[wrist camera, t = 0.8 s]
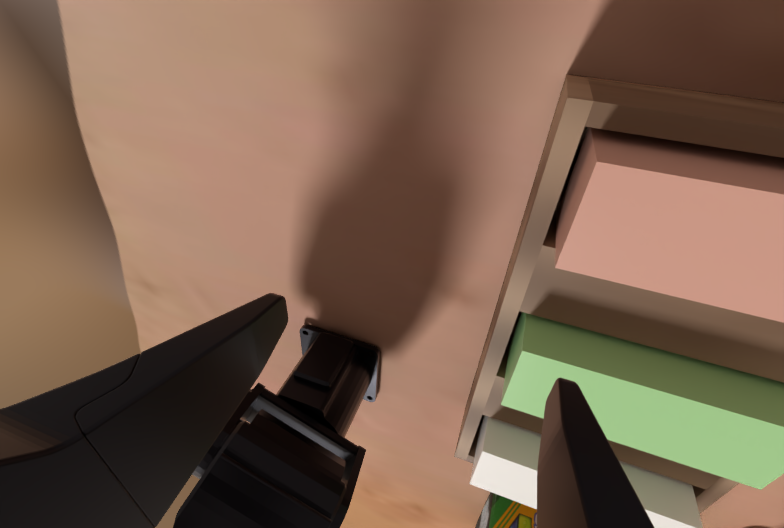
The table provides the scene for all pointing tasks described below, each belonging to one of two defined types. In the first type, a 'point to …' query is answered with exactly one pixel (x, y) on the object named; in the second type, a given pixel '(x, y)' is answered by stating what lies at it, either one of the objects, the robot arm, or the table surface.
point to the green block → (654, 398)
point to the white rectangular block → (519, 476)
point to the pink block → (677, 220)
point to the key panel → (614, 300)
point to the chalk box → (506, 514)
